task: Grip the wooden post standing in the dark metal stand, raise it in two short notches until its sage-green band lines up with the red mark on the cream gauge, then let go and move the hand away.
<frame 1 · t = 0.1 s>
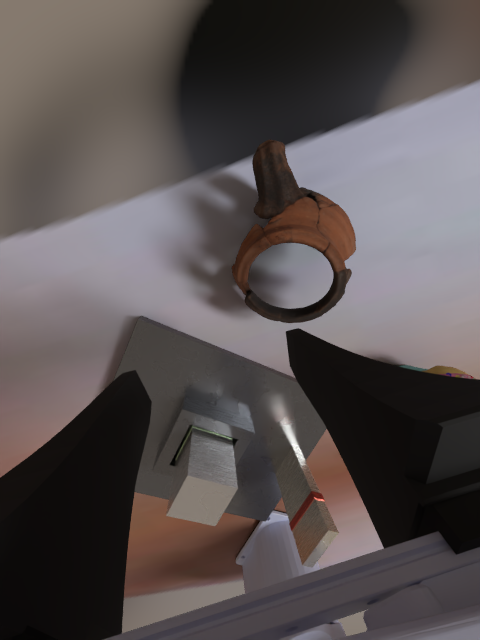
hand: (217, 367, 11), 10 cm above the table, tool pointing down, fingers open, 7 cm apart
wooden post: (203, 465, 20), point 4 cm above the table, slide at 0.0 cm
broken terracotta ring: (278, 241, 20), on the table
stand base: (204, 428, 24), on the table
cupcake: (398, 383, 26), on the table
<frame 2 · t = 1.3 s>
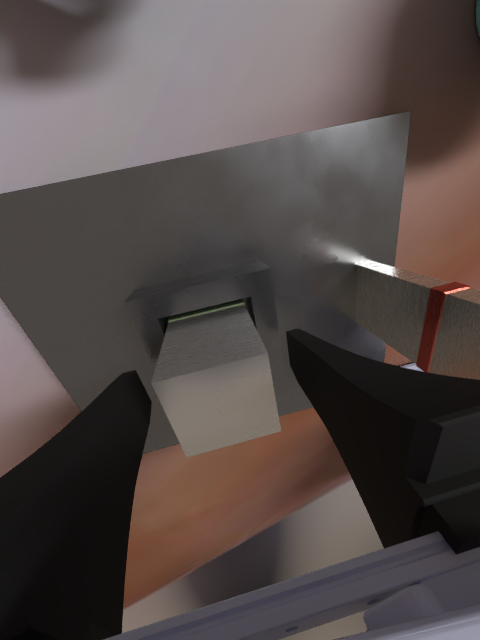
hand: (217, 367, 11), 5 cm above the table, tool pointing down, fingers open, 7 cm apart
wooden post: (217, 361, 11), point 4 cm above the table, slide at 0.0 cm
stand base: (213, 323, 15), on the table
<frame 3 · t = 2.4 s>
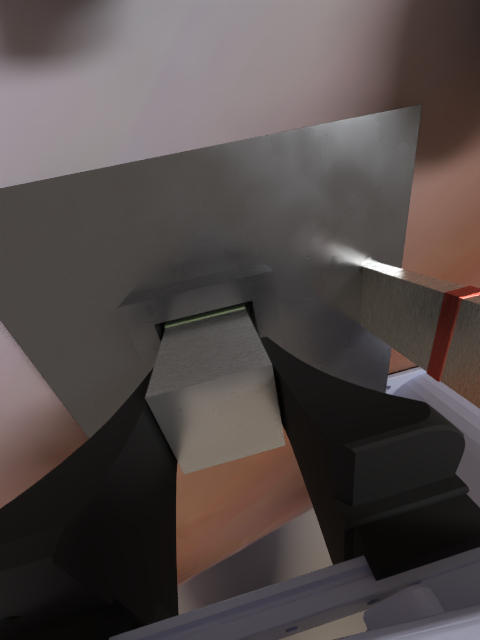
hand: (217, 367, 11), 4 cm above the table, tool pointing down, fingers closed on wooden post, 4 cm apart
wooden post: (217, 369, 11), point 4 cm above the table, slide at 0.0 cm, touching gripper
stand base: (212, 327, 15), on the table
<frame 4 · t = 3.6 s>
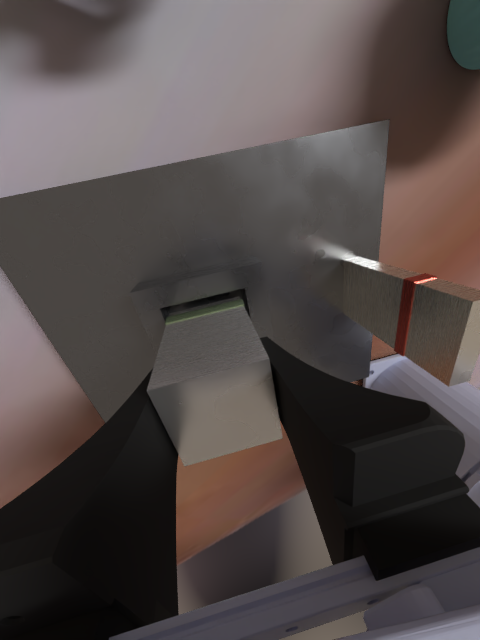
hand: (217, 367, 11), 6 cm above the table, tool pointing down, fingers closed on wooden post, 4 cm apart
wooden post: (216, 365, 11), point 6 cm above the table, slide at 1.7 cm, touching gripper
stand base: (210, 314, 16), on the table
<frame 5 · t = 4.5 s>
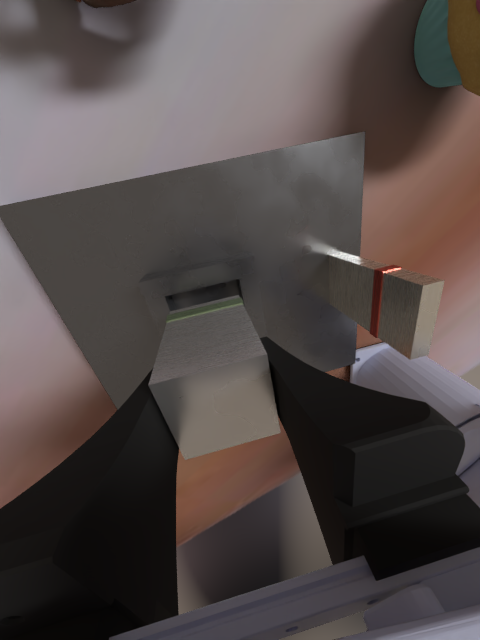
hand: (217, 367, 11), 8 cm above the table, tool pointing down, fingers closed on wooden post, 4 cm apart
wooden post: (216, 362, 11), point 8 cm above the table, slide at 3.4 cm, touching gripper
stand base: (209, 304, 18), on the table
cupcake: (449, 35, 14), on the table
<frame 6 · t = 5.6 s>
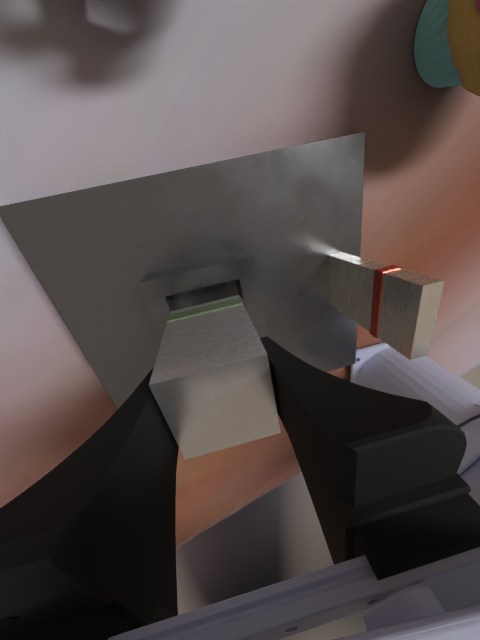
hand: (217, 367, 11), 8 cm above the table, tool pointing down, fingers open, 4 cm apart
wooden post: (216, 362, 11), point 8 cm above the table, slide at 3.4 cm
stand base: (209, 305, 18), on the table
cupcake: (449, 36, 14), on the table
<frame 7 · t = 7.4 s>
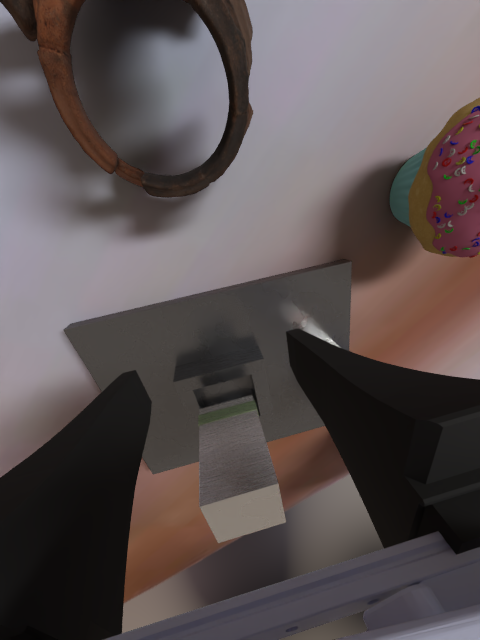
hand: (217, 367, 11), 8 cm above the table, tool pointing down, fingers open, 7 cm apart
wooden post: (237, 459, 15), point 8 cm above the table, slide at 3.4 cm
broken terracotta ring: (141, 81, 13), on the table
stand base: (225, 380, 22), on the table
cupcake: (417, 188, 17), on the table
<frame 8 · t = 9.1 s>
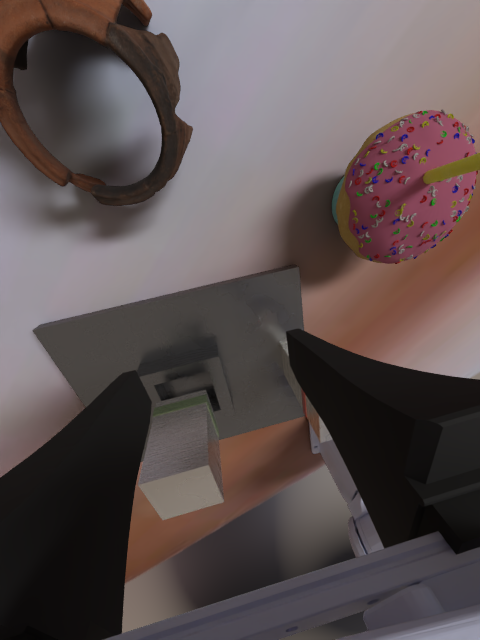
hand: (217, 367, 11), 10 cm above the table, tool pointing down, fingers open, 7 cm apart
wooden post: (186, 446, 16), point 8 cm above the table, slide at 3.4 cm
broken terracotta ring: (97, 101, 14), on the table
stand base: (190, 377, 23), on the table
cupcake: (358, 200, 19), on the table
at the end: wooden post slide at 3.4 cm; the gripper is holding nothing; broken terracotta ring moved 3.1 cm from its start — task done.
